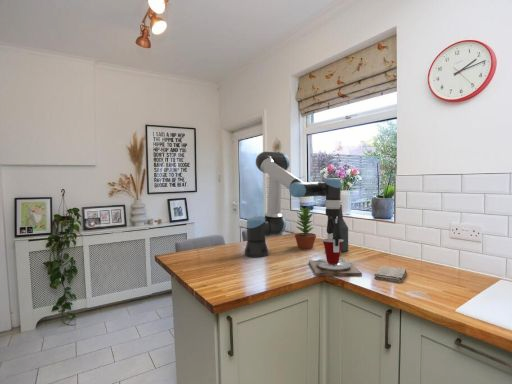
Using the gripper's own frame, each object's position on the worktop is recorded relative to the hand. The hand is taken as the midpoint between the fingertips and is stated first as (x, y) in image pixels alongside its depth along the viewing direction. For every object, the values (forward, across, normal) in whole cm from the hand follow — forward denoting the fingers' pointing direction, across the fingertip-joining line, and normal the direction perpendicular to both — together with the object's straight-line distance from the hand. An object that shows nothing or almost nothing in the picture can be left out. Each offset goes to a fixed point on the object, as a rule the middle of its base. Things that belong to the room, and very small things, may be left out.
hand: (333, 249), depth 149 cm
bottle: (+11, +41, -14) cm, 45 cm away
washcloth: (+11, -10, -25) cm, 29 cm away
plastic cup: (+7, +1, 0) cm, 7 cm away
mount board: (+10, 0, 0) cm, 11 cm away
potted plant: (+11, +49, +8) cm, 51 cm away
